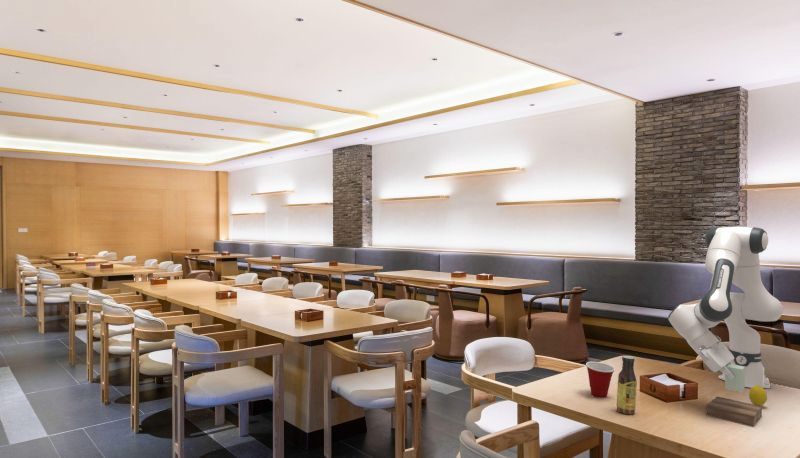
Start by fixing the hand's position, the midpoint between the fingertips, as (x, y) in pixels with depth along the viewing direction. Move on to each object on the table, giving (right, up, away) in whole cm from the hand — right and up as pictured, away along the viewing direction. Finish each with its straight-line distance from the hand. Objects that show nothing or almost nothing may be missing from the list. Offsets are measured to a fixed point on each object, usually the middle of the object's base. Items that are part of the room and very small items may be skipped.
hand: (735, 376), depth 180 cm
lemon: (+15, -14, +10) cm, 23 cm away
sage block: (0, -4, 0) cm, 4 cm away
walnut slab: (0, -15, 0) cm, 15 cm away
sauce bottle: (-39, -13, +2) cm, 41 cm away
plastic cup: (-41, -13, +19) cm, 47 cm away
